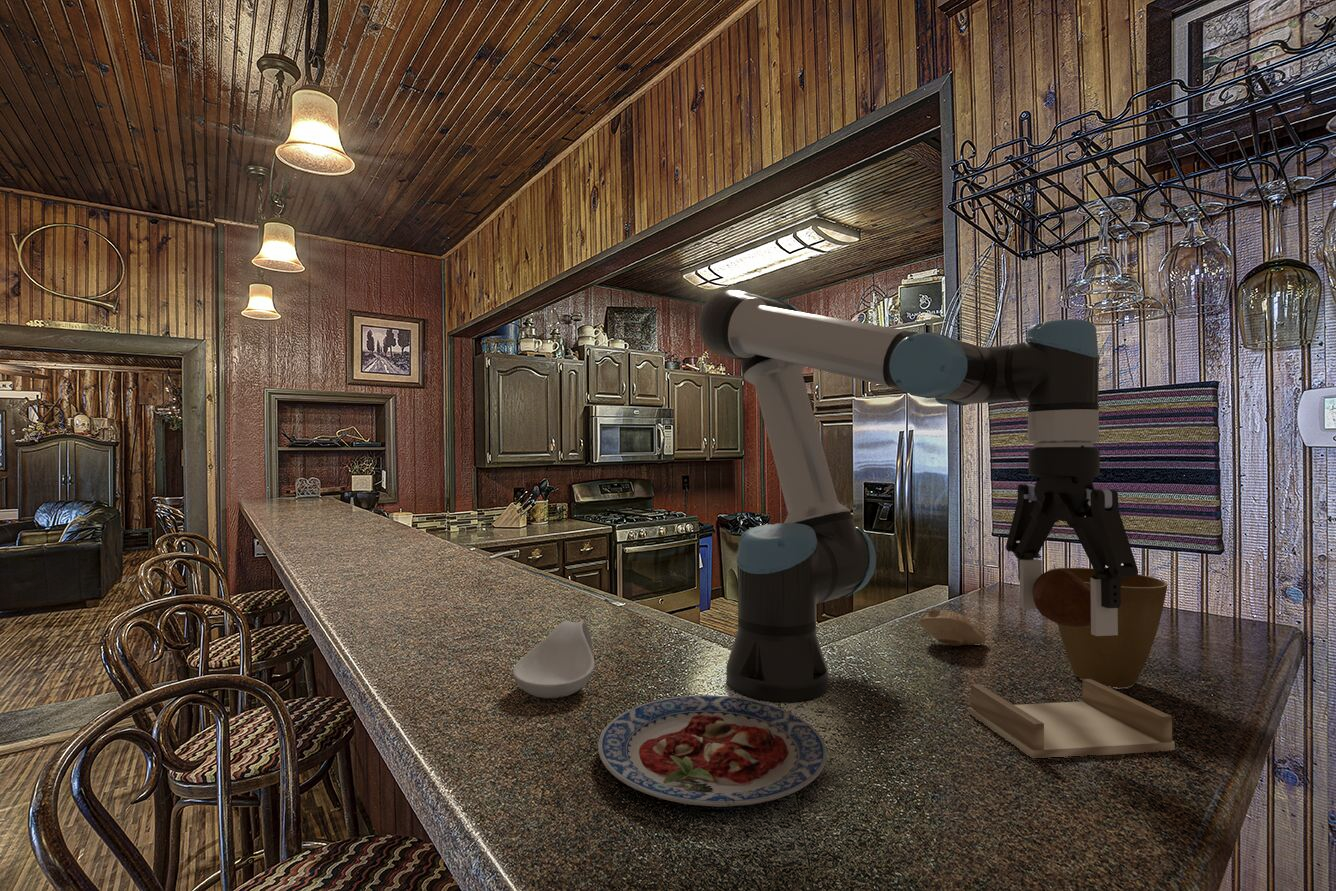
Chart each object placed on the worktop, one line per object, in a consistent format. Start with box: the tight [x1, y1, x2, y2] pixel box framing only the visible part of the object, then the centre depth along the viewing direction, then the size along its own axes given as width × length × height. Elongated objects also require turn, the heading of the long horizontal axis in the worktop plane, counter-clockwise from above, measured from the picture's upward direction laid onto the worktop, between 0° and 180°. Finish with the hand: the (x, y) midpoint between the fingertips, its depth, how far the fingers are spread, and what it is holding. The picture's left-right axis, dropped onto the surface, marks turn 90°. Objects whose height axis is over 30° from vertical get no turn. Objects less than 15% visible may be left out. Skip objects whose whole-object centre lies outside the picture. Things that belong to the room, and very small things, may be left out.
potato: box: [1032, 570, 1091, 627], centre depth 77 cm, size 6×12×6 cm, turn 1°
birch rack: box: [968, 679, 1176, 758], centre depth 77 cm, size 18×12×4 cm, turn 97°
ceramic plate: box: [597, 694, 828, 808], centre depth 71 cm, size 26×26×3 cm
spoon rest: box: [512, 620, 595, 699], centre depth 96 cm, size 24×12×7 cm, turn 177°
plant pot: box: [1047, 567, 1168, 687], centre depth 94 cm, size 15×15×16 cm
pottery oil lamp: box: [919, 609, 987, 647], centre depth 110 cm, size 9×12×7 cm
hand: (1064, 620), depth 77 cm, fingers closed on potato, 11 cm apart
